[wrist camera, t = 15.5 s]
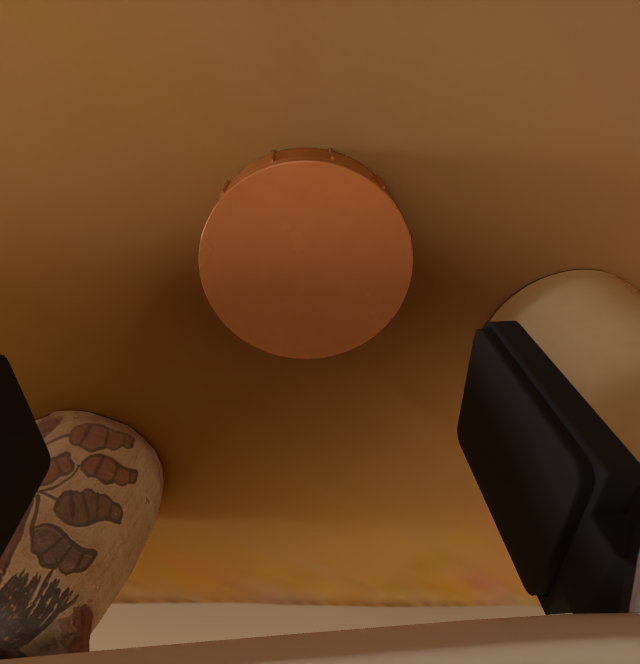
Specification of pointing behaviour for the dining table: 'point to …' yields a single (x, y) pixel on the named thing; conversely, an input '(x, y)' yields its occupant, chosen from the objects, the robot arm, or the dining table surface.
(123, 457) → the figurine
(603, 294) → the honey jar
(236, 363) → the dining table surface
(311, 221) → the jar lid
